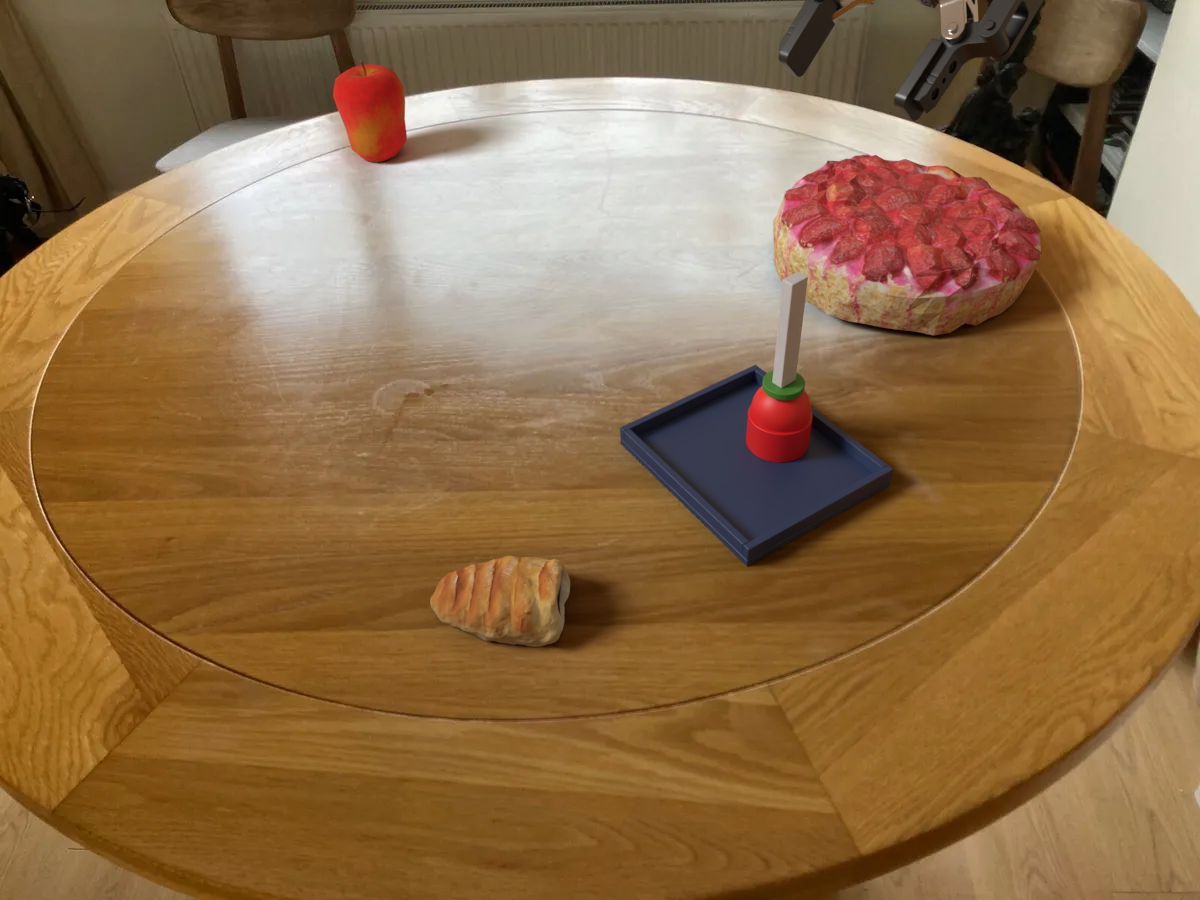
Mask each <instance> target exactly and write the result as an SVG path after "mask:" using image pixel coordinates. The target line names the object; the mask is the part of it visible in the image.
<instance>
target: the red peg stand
mask: <svg viewBox="0 0 1200 900" xmlns="http://www.w3.org/2000/svg"><path fill="white" fill-rule="evenodd" d="M807 282H808V277H807V276H805V275H803V274H802V273H800V272H796V273H794V274H792V275H791V276H789V277H787V278H785V279H783V281H782V280H781V292H780V303H779V313H778V322H777V331H776V332H777V333H776V341H775V350H774V351H775V352H774V360H773V361H774V362H773V369H772V370H770V371H769V372H766V373H767V374H766V375H765V376H764V378H763V383H762V387H760V388H759V390H758V391H757V392H756V394H755V395H754V397H753V400H752V404H751V406H750V407H749V410H748V421H747V433H746V443H747V446H748V448H749V450H750V451H751V452H752V453H753V454H754V455H756V456H757V457H759V458H761V459H763V460H766V461H770V462H777V463H783V462H790V461H794V460H796V459H798V458H800V457H801V456H803V455H804V454H805V452H806V451H807V449H808V446H809V440H810V433H811V426H812V418H813V415H812V412H811V407H812V405H811V399H810V396H809V395H808V393H807V392H806V390H805V389H806V381H805V378H804V377H803V376H802V375H801V374H800V373H798V372H797V371H798V365H799V364H798V363H799V355H800V347H801V339H802V332H803V331H802V330H803V323H804V315H805V305H806V300H805V298H806V290H807Z"/></svg>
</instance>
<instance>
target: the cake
mask: <svg viewBox="0 0 1200 900" xmlns="http://www.w3.org/2000/svg"><path fill="white" fill-rule="evenodd" d="M772 227H773V229H772V230H773V231H772V232H773V264H774V267H775V268H774V269H775V272H776V274H777V275H778V278H779V279H780V280H781V282H782V281H783V279H785V278H787V277H789V276H791V275H792V274H794V273H796V272H800V273H802V274H803V275H805V276H807V277H808V282H807V290H806V298H805V302H807V303H809V304H811V305H813V306H814V307H815V308H817V309H819V310H820V311H822V312H823V313H824V314H826V315H828V316H830V317H834V318H837V319H840V320H843V321H846V322H851V323H859V324H863V325H868V326H873V327H877V328H883V329H892V330H897V331H898V330H899V331H905V332H908V331H909V332H916V333H920V334H925V335H930V336H939V335H944V334H951V333H952V332H953V331H955V330H957V329H958V328H960V327H961V326H963V325H964V324H967V325H971V326H978V325H981V324H982V323H983V322H985V321H987V320H989V319H991V318H993V317H995V316H998V315H1001V314H1002V313H1003V312H1005V311H1006V310H1007V309H1008V308H1010V307H1011V306H1012V305H1013V304H1014V303H1015V302H1016V301H1017V300H1018V298H1019V297H1020V295H1021V294H1022V293H1023V291H1024V289H1025V288H1026V286H1027V284H1028V282H1029V280H1030V279H1031V278H1032V275H1033V273H1034V271H1035V270H1036V267H1037V265H1038V263H1039V262H1040V259H1041V257H1042V248H1041V229H1040V228H1039V226H1038V224H1037V223H1036V221H1035V220H1034V219H1033V218H1030V217H1028V216H1027V215H1026V214H1025V213H1024V212H1023V210H1022V209H1021V208H1020V206H1019V205H1018V204H1017V203H1015V201H1013V200H1012V199H1011V198H1010V197H1009V196H1007V195H1006V194H1004V193H1001V192H1000V191H998V190H997V189H995V188H993V187H992V186H991V185H990V183H989V182H988V181H987V180H985V179H984V178H983V177H981V176H963V175H962V174H961V173H959V172H957V171H955V170H954V169H952V168H951V167H949V166H947V165H928V166H927V165H923V164H920V163H917V162H915V161H912V160H909V159H907V158H905V159H904V158H903V159H901V160H890V159H884V158H882V157H880V156H879V155H877V154H873V155H869V154H858V155H853V156H852V157H850V158H844V159H841V160H826V162H825V163H824V164H823V165H821V166H819V167H818V168H817V169H815V170H813V171H812V172H811V173H807V174H805V175H804V176H803V177H801V178H800V179H798V180H797V181H795V183H794V184H793V186H791V188H790V189H787V190H785V192H784V195H783V198H782V199H781V203H780V206H779V208H778V211H777V213H776V215H775V217H774V219H773V220H772Z"/></svg>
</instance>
